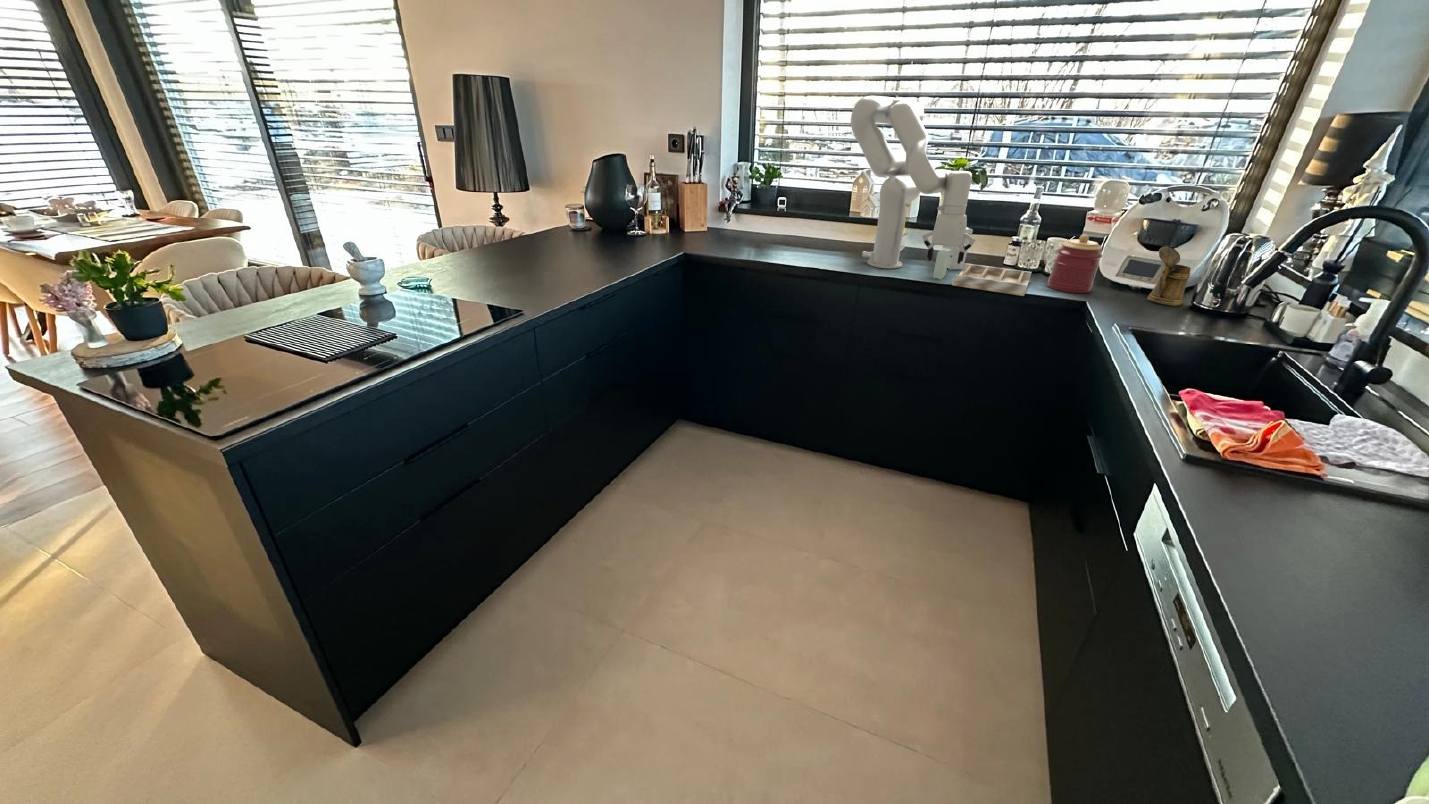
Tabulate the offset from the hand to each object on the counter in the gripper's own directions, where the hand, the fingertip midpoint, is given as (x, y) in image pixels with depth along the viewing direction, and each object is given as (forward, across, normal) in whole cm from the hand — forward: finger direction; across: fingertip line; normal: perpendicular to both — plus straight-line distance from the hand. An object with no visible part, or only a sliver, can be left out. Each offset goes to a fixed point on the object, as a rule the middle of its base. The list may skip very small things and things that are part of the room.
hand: (944, 261), depth 195 cm
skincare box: (+5, 0, +17) cm, 18 cm away
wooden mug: (+7, +64, +7) cm, 65 cm away
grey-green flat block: (+5, -1, 0) cm, 5 cm away
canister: (+7, +39, +9) cm, 41 cm away
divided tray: (+6, +16, 0) cm, 17 cm away
